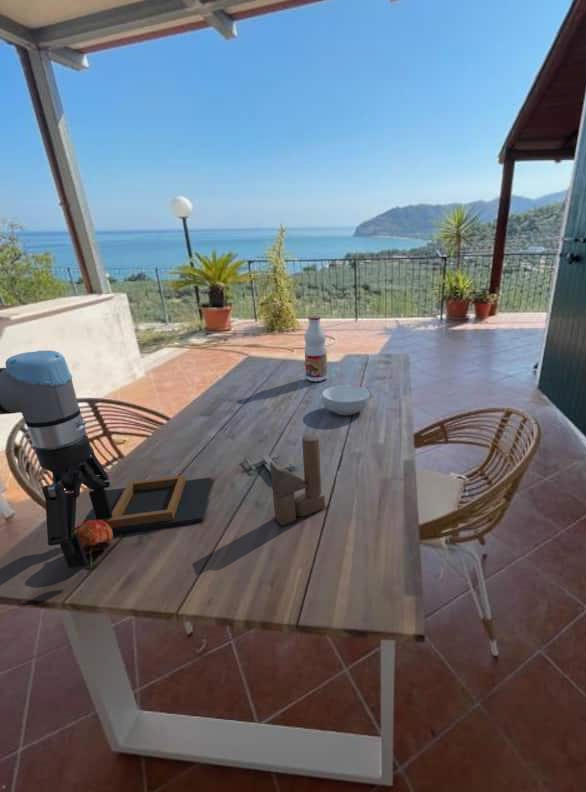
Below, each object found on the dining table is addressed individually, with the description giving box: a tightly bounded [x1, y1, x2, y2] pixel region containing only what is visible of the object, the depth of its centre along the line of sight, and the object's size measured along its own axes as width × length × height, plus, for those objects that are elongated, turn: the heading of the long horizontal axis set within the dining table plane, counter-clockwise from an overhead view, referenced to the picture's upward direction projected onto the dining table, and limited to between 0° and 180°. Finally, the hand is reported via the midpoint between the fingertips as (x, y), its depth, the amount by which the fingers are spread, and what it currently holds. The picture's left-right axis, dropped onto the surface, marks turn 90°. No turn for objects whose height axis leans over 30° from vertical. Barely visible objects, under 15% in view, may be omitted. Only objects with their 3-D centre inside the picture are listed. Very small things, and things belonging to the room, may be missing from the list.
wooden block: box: [270, 433, 326, 526], centre depth 84 cm, size 4×11×18 cm, turn 125°
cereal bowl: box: [321, 385, 370, 416], centre depth 139 cm, size 17×17×7 cm
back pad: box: [84, 475, 212, 536], centre depth 88 cm, size 24×16×3 cm, turn 103°
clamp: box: [243, 455, 295, 474], centre depth 103 cm, size 15×2×10 cm
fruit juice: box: [303, 315, 328, 378], centre depth 168 cm, size 9×9×28 cm
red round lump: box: [75, 514, 114, 569], centre depth 74 cm, size 7×7×10 cm
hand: (92, 539), depth 75 cm, fingers open, 12 cm apart
